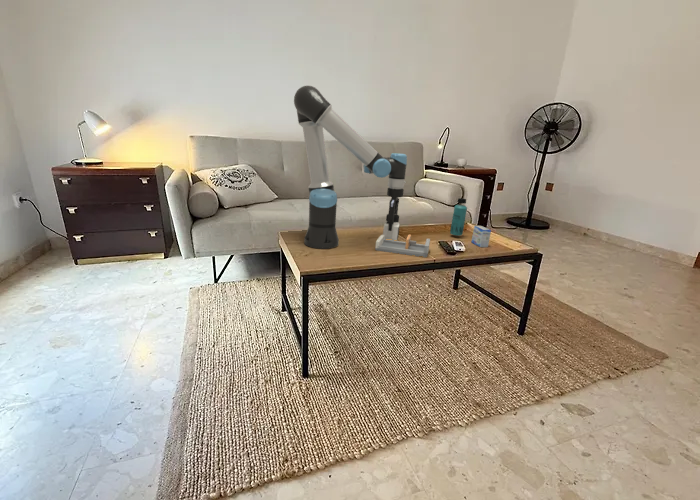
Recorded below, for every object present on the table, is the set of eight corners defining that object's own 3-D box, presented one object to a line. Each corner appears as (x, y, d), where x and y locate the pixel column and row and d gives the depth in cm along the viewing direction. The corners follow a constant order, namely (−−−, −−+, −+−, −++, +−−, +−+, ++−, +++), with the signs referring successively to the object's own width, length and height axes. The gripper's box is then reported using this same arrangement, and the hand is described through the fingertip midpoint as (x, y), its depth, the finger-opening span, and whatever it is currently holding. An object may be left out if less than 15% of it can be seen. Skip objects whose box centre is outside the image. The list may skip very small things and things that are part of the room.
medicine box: (470, 242, 171) (473, 225, 168) (479, 242, 172) (482, 225, 169) (479, 247, 163) (483, 229, 161) (488, 247, 164) (491, 229, 162)
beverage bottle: (450, 234, 183) (456, 196, 177) (463, 236, 181) (469, 198, 175) (448, 237, 178) (454, 198, 172) (461, 239, 175) (468, 200, 169)
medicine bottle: (397, 241, 165) (400, 216, 161) (382, 239, 166) (384, 215, 162) (398, 237, 171) (400, 213, 167) (384, 235, 172) (386, 212, 169)
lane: (375, 250, 149) (376, 239, 147) (380, 242, 160) (381, 232, 158) (426, 257, 144) (428, 246, 142) (428, 249, 155) (430, 238, 153)
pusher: (405, 250, 147) (406, 239, 146) (407, 245, 155) (408, 234, 153) (414, 251, 146) (415, 240, 145) (416, 246, 154) (417, 235, 152)
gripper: (400, 191, 151) (395, 241, 158) (406, 186, 169) (401, 231, 176) (383, 189, 152) (379, 239, 160) (391, 184, 171) (386, 229, 178)
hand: (390, 234), depth 168 cm, fingers closed on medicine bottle, 7 cm apart
